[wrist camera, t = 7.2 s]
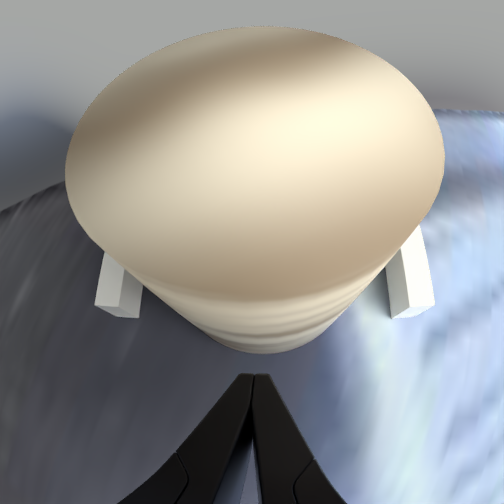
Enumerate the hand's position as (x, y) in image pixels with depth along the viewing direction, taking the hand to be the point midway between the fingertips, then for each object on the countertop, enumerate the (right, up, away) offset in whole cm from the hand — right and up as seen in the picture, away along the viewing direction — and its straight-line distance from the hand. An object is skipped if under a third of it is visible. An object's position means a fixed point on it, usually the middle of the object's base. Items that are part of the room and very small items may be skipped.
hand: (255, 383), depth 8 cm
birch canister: (+1, +3, +9) cm, 9 cm away
